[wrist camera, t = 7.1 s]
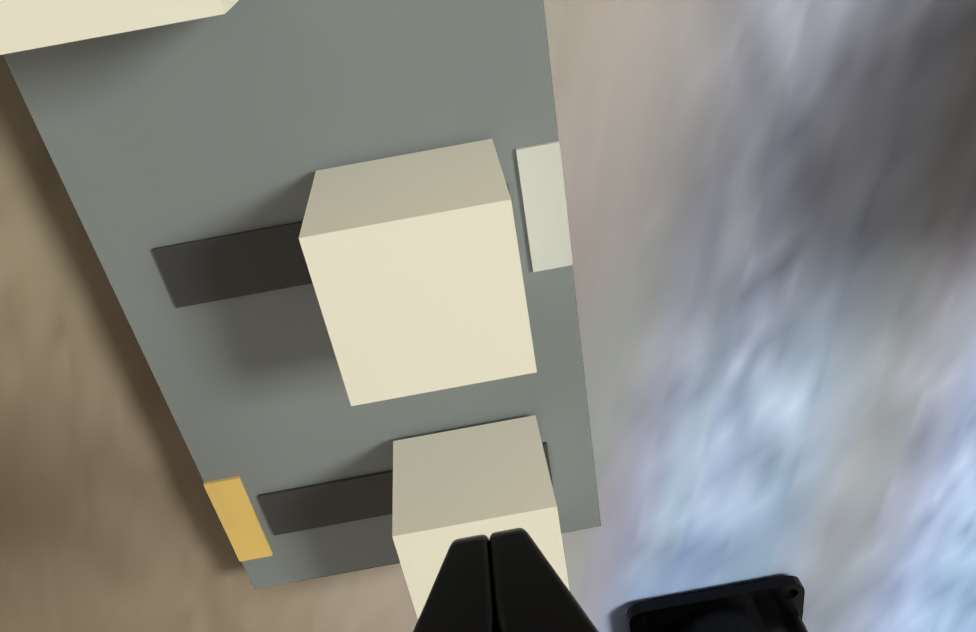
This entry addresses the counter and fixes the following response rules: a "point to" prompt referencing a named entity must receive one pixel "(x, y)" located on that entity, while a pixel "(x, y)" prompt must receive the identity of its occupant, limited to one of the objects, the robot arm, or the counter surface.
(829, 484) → the counter surface
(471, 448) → the cream cube
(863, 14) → the counter surface
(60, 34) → the near tab
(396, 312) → the middle tab
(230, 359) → the switch bank
